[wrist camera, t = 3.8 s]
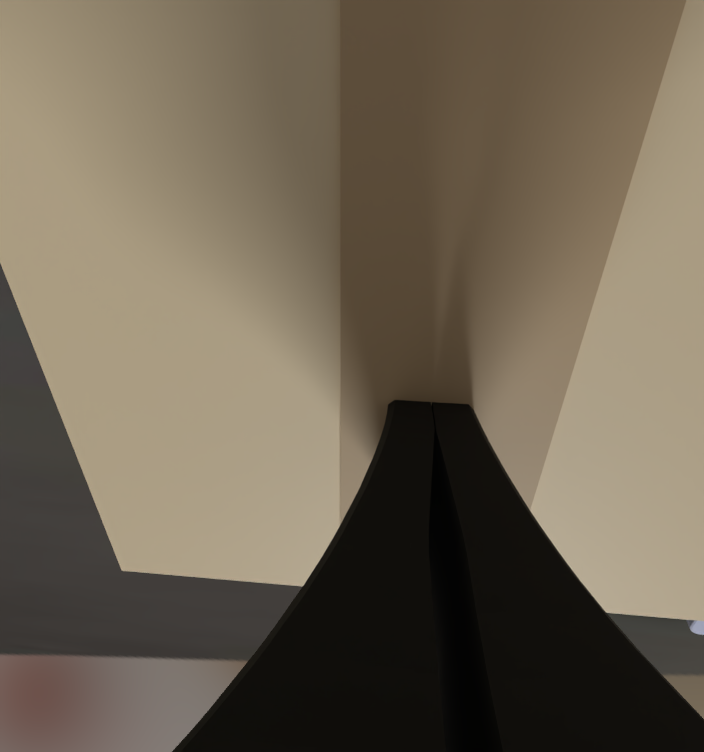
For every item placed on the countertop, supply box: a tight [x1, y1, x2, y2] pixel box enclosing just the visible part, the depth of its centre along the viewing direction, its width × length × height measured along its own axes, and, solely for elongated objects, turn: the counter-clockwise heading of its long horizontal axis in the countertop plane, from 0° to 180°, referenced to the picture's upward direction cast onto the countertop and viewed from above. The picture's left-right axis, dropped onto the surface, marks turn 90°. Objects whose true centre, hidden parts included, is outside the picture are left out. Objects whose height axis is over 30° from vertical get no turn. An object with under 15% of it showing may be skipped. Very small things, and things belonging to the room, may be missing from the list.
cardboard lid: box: [0, 0, 704, 621], centre depth 8 cm, size 14×15×1 cm
